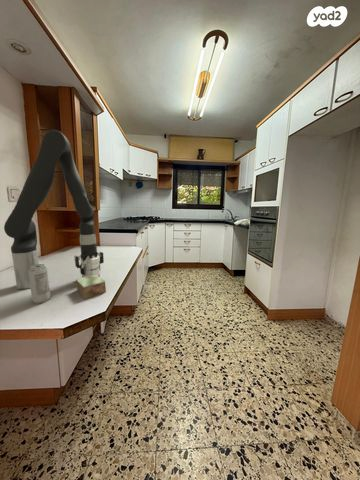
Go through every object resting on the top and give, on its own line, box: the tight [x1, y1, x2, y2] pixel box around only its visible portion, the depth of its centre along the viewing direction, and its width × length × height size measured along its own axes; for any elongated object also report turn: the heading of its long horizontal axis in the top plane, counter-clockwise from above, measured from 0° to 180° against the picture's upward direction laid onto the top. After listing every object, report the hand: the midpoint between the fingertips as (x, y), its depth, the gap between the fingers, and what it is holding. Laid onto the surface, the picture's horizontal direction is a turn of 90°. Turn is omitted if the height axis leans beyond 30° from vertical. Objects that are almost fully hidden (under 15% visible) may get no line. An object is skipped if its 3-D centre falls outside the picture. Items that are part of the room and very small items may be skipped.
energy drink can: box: [28, 263, 51, 304], centre depth 76 cm, size 6×6×15 cm
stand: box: [75, 275, 107, 299], centre depth 86 cm, size 9×11×5 cm
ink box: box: [80, 257, 101, 278], centre depth 99 cm, size 9×5×12 cm, turn 65°
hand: (90, 272), depth 100 cm, fingers open, 7 cm apart
